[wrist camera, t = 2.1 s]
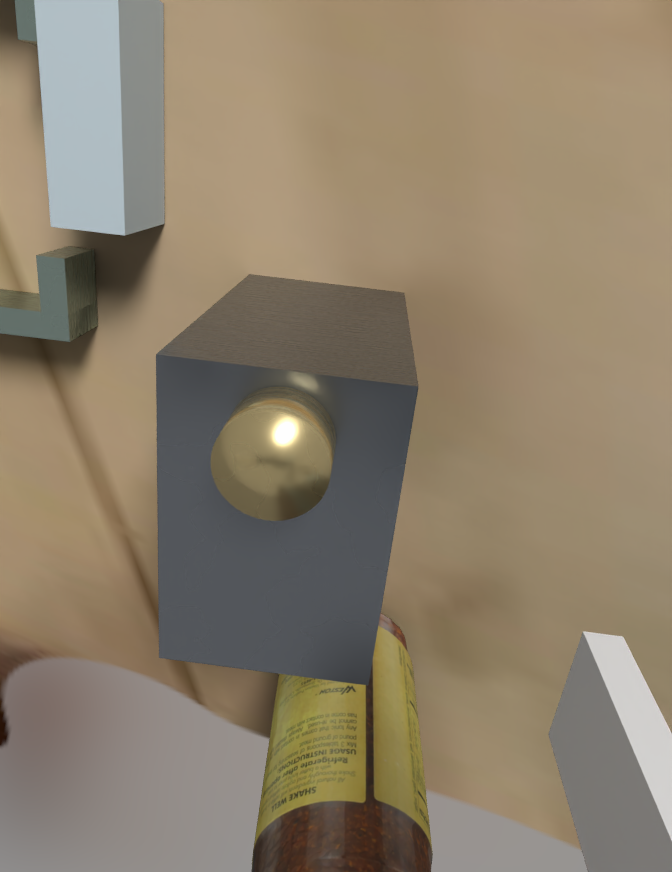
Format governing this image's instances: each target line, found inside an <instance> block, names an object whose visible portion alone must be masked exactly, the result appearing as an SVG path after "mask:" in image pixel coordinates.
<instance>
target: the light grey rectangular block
mask: <svg viewBox="0 0 672 872" xmlns="http://www.w3.org/2000/svg"><path fill="white" fill-rule="evenodd" d="M34 4H35V18H36V31H37V45H38V59H39V72H40V86H41V99H42V113H43V126H44V140H45V153H46V167H47V181H48V194H49V208H50V221H51V227H57V228H66V229H74V230H83V231H91V232H99V233H108V234H116V235H128V234H132V233H135V232H139V231H142V230H145V229H149V228H152V227H155V226H159V225H162V224H164V5H163V3H162V2H161V1H159V0H34Z"/></svg>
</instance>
